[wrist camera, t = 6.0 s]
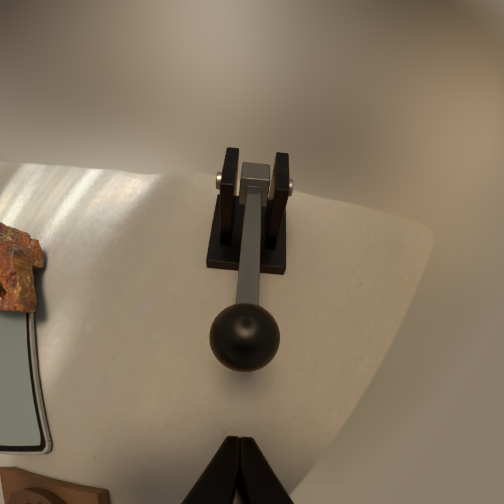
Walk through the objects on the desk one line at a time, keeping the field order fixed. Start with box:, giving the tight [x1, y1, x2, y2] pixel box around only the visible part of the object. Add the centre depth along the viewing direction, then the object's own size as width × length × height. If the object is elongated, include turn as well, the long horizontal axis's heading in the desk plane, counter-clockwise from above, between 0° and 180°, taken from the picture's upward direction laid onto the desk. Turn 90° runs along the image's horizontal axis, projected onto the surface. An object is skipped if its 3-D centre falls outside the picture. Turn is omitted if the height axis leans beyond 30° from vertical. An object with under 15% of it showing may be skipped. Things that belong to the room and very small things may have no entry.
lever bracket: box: [206, 147, 293, 274], centre depth 26 cm, size 8×7×9 cm
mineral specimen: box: [0, 222, 44, 314], centre depth 22 cm, size 12×8×7 cm, turn 78°
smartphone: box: [0, 310, 51, 454], centre depth 19 cm, size 7×1×15 cm
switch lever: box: [209, 162, 280, 372], centre depth 19 cm, size 17×3×3 cm, turn 176°
